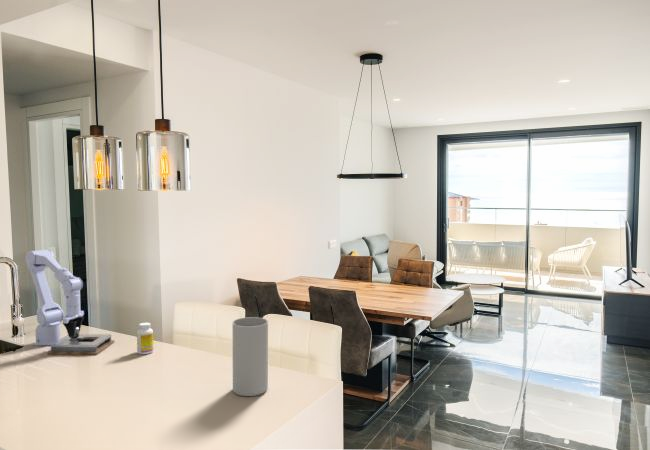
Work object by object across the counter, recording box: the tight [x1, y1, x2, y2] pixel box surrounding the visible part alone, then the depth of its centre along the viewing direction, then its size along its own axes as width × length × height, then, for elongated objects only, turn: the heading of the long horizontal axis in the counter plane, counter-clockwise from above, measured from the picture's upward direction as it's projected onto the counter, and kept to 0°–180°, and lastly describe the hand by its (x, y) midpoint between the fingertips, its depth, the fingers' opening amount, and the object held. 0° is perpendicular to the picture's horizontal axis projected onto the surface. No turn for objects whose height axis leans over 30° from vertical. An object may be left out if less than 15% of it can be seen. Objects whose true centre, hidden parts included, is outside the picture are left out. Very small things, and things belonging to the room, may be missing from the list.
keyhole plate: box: [50, 333, 112, 352], centre depth 211 cm, size 20×15×3 cm
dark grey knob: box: [69, 326, 81, 342], centre depth 211 cm, size 6×6×8 cm
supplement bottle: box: [136, 322, 154, 355], centre depth 206 cm, size 7×7×13 cm
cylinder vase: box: [232, 316, 269, 397], centre depth 167 cm, size 12×12×25 cm
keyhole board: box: [46, 339, 115, 356], centre depth 211 cm, size 22×17×1 cm
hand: (74, 334), depth 210 cm, fingers closed on dark grey knob, 4 cm apart
